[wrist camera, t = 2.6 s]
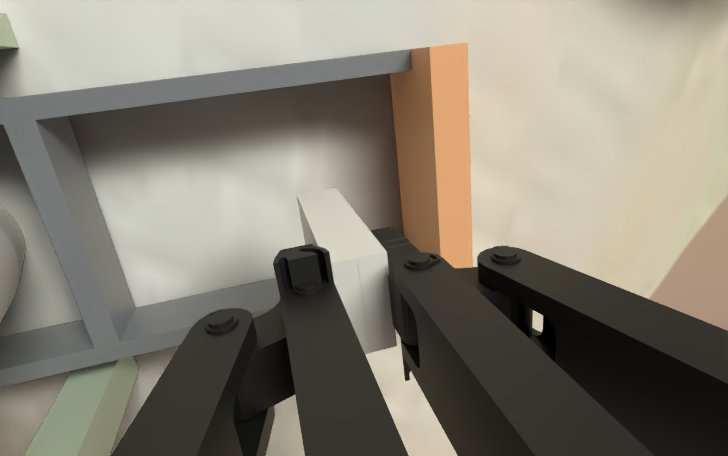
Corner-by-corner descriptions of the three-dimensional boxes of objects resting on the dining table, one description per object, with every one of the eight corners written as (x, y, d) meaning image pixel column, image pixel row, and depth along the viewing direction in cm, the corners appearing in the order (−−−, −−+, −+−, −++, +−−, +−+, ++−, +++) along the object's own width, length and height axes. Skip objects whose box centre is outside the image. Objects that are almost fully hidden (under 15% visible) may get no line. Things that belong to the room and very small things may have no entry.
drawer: (-315, 137, 15) (-547, 166, 11) (418, 48, 21) (467, 42, 16) (-147, 385, 20) (-265, 481, 15) (431, 257, 25) (473, 299, 20)
